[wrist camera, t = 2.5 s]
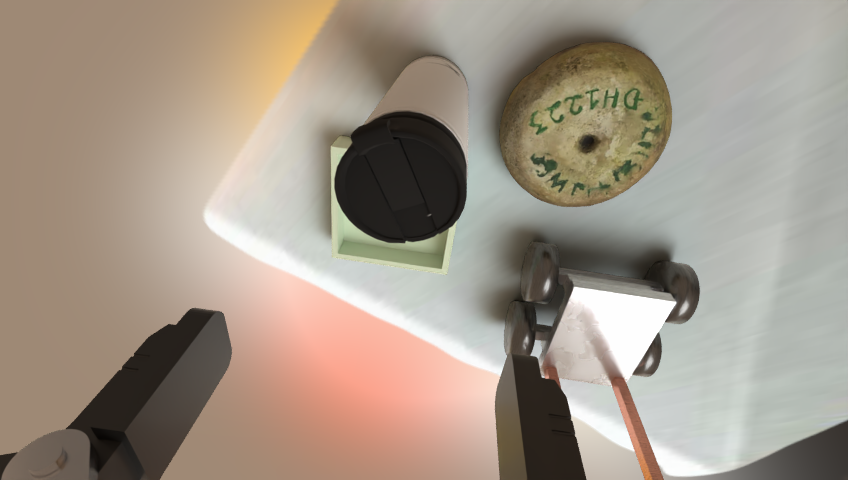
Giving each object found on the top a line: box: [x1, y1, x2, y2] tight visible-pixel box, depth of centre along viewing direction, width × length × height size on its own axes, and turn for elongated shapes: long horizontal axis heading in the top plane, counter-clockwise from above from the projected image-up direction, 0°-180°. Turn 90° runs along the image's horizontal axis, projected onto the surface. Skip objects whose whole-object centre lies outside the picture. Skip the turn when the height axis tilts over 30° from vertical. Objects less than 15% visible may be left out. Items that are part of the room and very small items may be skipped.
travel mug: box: [334, 56, 468, 243], centre depth 26 cm, size 6×7×20 cm
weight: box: [499, 42, 672, 207], centre depth 33 cm, size 14×14×5 cm
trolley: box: [504, 241, 700, 480], centre depth 37 cm, size 14×15×20 cm
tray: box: [331, 135, 457, 275], centre depth 40 cm, size 12×12×3 cm
